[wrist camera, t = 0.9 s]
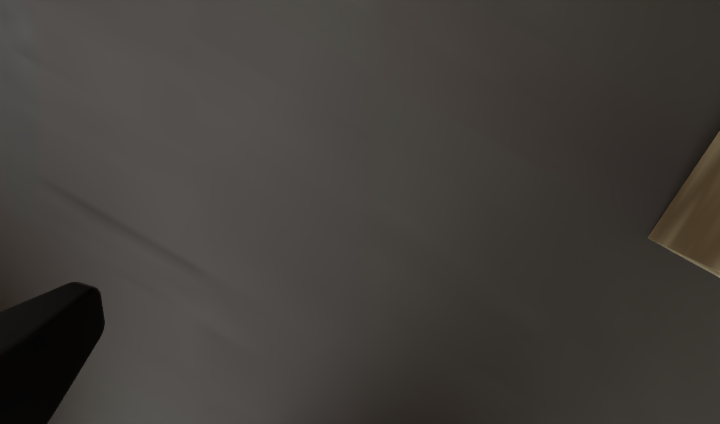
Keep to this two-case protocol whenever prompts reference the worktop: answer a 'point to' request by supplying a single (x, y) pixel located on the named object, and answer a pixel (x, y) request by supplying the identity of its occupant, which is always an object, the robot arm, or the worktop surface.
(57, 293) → the robot arm
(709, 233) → the birch block
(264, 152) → the worktop surface
